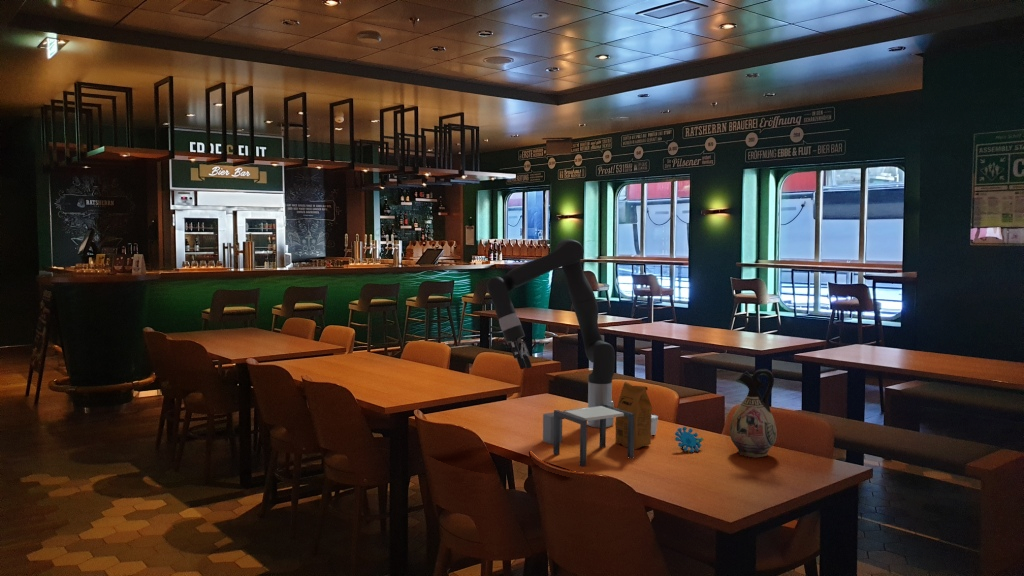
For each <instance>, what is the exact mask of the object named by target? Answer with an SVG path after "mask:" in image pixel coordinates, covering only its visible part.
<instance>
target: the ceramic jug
mask: <svg viewBox="0 0 1024 576" xmlns="http://www.w3.org/2000/svg"><path fill="white" fill-rule="evenodd" d="M759 376H765V377H767V378H768V385H767V387H766V390H765V392H764V393H763V396H762V395H761V393H760V390H759V389H762V388H764V387H765V385H764V383H763V381H762V380H761V379H759ZM735 381H736V382H737V383H739V384H742V385H744V386H745V387H747V389H748V392H747V395H746V396H745V398H744V399H743V400H742V402H741V403H740V404H739V406H738V407H737V409H736V410H735V412H734V414H733V416H732V419H731V421H730V425H729V437H730V439H731V441H732V443H733V445H734V446H735V447H736V449H737V453H738V454H739V455H740V454H741V455H740V456H743V455H744V457H747V456H748V457H749V458H763V457H766V456H768V452H769V450H770V449H771V448H772V447H773V446H774V445H775V444H776V440H777V436H778V435H777V433H778V432H777V431H778V430H777V425H776V421H775V418H774V416H773V414H772V412H771V408H770V404H769V398H770V395H771V392H772V390H773V388H774V384H775V376H774V374H773V373H772V371H771V370H769V369H767V368H761V369H757V370H755V372H754V373H753V374H752V375H751V374H750V372H748V370H747V371H746V370H745V372H743V373H742V374H740V375H739V376H738V377H737V378H736V380H735Z"/></svg>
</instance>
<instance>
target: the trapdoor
mask: <svg viewBox="0 0 1024 576" xmlns="http://www.w3.org/2000/svg"><path fill="white" fill-rule="evenodd" d="M562 412H565V413H568V414H571V415H574V416H576V417H579V418H582V419H585V420H587V422H588V421H591V420H598V419H606V418H613V419H614V418H616V417H621V416H624V413H622V412H619V411H616V410H612V409H609V408H606V407H603V406H597V407H589V408H588V407H584V408H583V407H582V408H575V409H574V408H573V409H567V410H562Z"/></svg>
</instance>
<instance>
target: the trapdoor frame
mask: <svg viewBox="0 0 1024 576" xmlns="http://www.w3.org/2000/svg"><path fill="white" fill-rule="evenodd" d="M600 406H603V407H606V408H609V409H612V410H616V411H619V412H622V413H624V417H627V418H628V447H626V449H627V450H626V452H627V453H626V454H627V455H626V457H629V458H628V459H630V458H631V459H634V458H635V455H634V454H635V452H634V451H635V449H634V415H635V414H634V413H630V412H627V411H624V410H621V409H617V407H615V406H614V407H611V406H608V405H604V404H602V405H600ZM553 413H554V444H552V445H553V447H552V448H553V451H552V453H553V455H554V456H557V455H558V456H559V455H560V445H561V443H560V419H562V420H568V421H570V422H573V423H576V424H579V425H580V426H579V427H580V428H579V429H580V430H579V432H580V433H579V466H580V467H587V444H588V443H587V442H588V441H587V440H588V436H587V434H588V431H587V430H588V421H587V420H585V419H582V418H579V417H576V416H574V415H571V414H568V413H565V412H563V410H560V409H554V410H553ZM606 436H607V427H606V419H600V428H599V447H600V448H602V447H603V448H606V442H607V441H606ZM633 457H634V458H633Z"/></svg>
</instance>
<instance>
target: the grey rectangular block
mask: <svg viewBox="0 0 1024 576" xmlns="http://www.w3.org/2000/svg"><path fill="white" fill-rule="evenodd" d="M542 442H544V443H546V444H549V445H553V444H554V412H547V413H543V414H542ZM561 443H563V419H560V444H561Z"/></svg>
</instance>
